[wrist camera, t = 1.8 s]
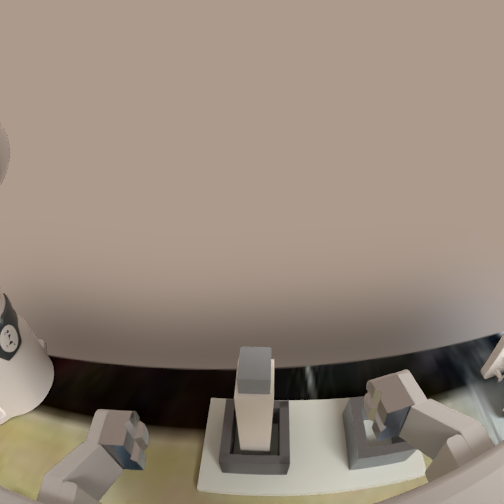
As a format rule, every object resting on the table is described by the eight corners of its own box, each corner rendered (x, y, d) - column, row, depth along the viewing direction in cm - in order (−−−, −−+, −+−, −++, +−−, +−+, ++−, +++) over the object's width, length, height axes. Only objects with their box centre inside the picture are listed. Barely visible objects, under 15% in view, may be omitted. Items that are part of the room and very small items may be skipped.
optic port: (349, 470, 26) (358, 458, 24) (342, 414, 33) (349, 397, 31) (405, 461, 26) (418, 448, 24) (393, 408, 33) (403, 392, 31)
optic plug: (241, 458, 28) (232, 382, 20) (244, 429, 32) (236, 342, 24) (268, 459, 28) (275, 384, 20) (269, 430, 32) (274, 343, 24)
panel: (198, 491, 25) (190, 479, 23) (212, 401, 36) (207, 380, 34) (423, 476, 24) (442, 461, 21) (402, 395, 35) (415, 374, 33)
